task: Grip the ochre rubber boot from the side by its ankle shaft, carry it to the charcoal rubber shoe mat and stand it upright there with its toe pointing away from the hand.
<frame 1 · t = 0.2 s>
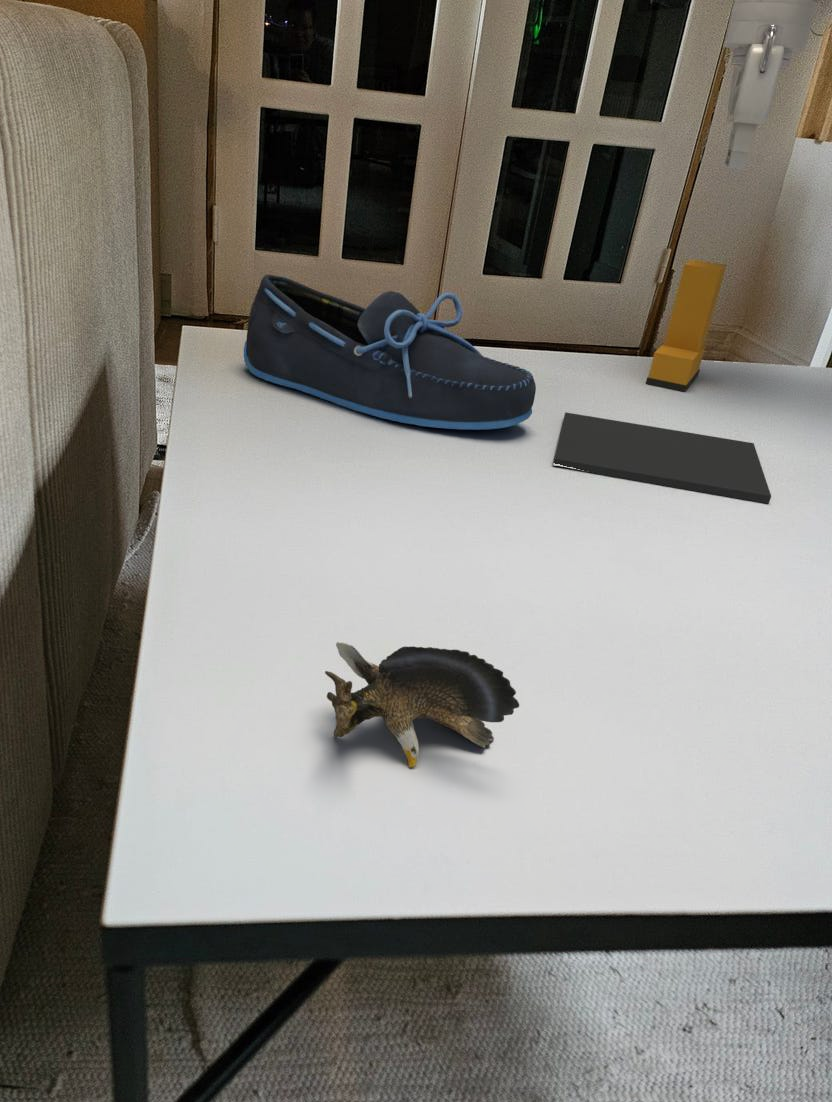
hand: (733, 168, 113), 25 cm above the table, tool pointing down, fingers open, 8 cm apart
moccasin: (379, 401, 104), on the table
shoe mat: (657, 457, 95), on the table
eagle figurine: (408, 745, 51), on the table
boot: (675, 375, 125), on the table
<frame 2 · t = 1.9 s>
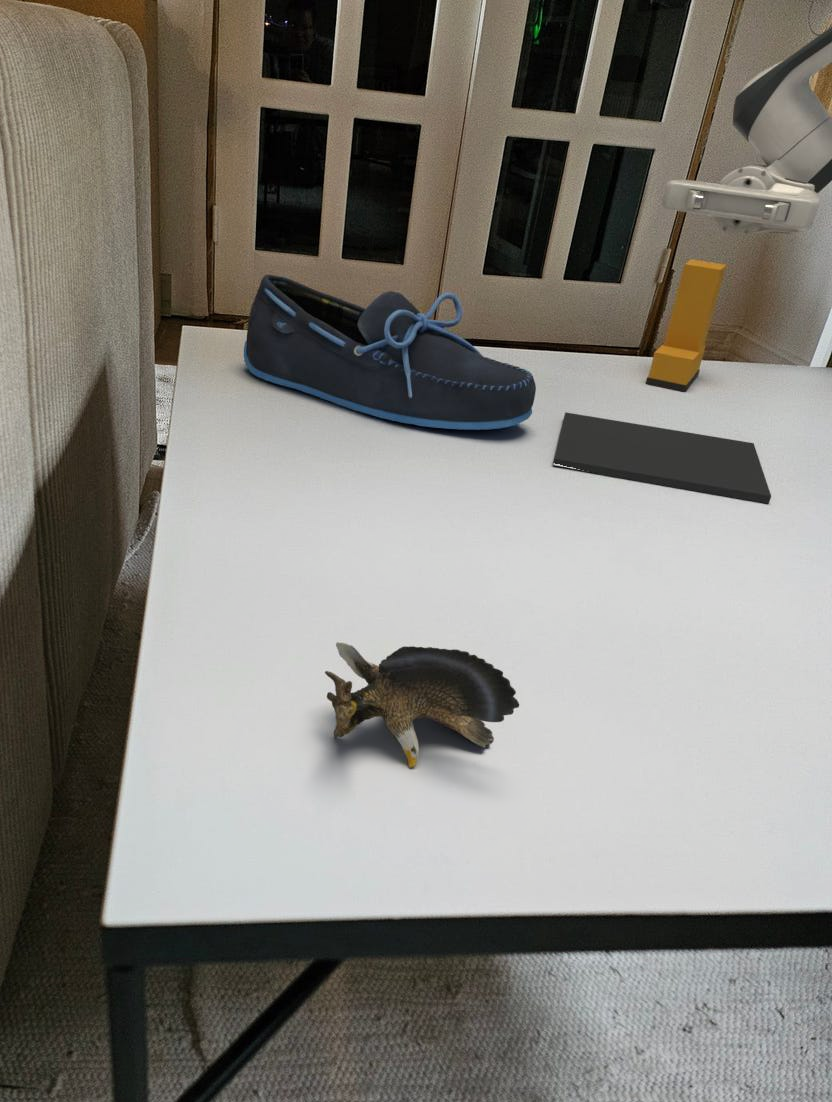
hand: (732, 207, 124), 20 cm above the table, tool horizontal, fingers open, 8 cm apart
nothing on the table moved.
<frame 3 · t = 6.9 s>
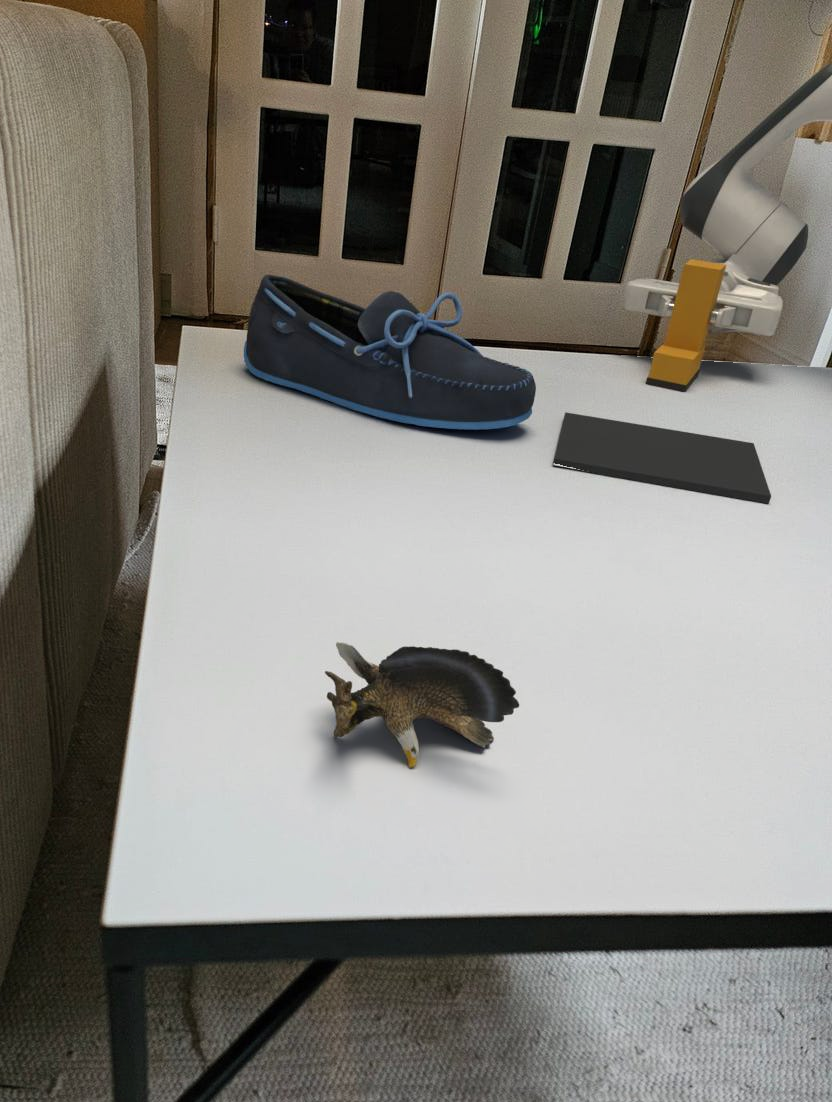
hand: (691, 314, 120), 8 cm above the table, tool horizontal, fingers closed on boot, 4 cm apart
boot: (675, 375, 125), on the table, touching gripper
everything else where it was.
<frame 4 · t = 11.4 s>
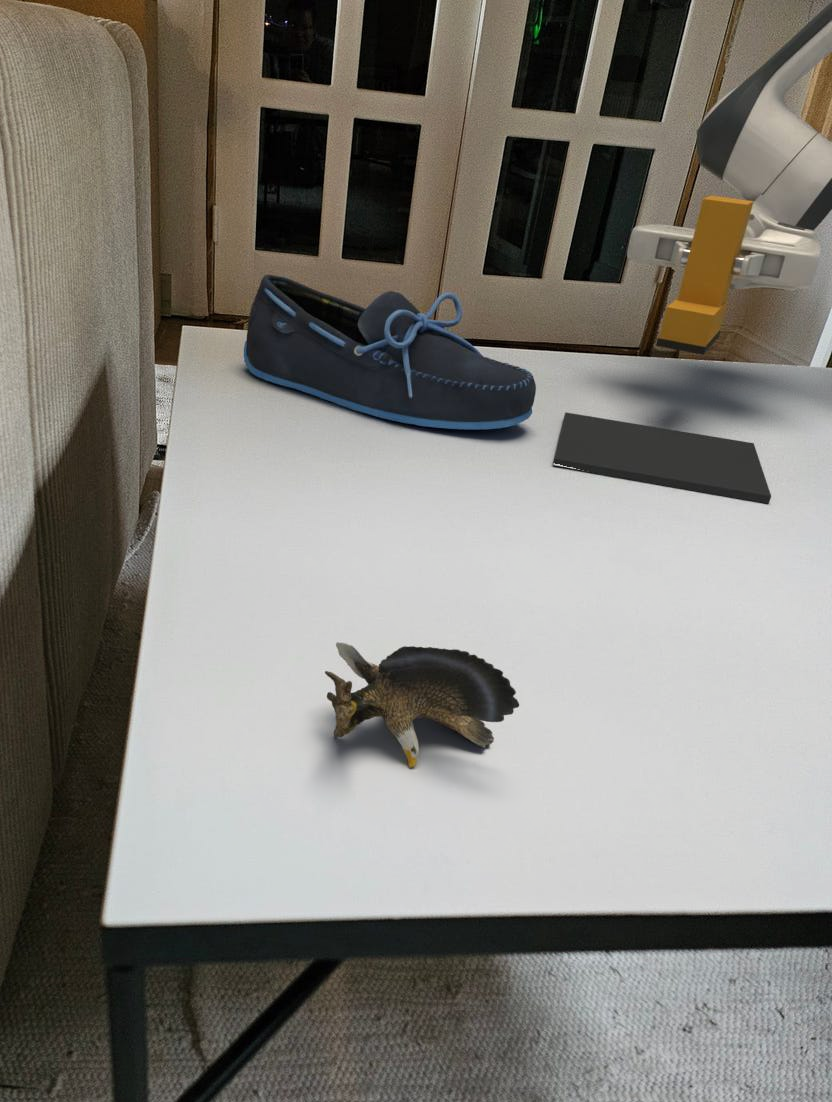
hand: (711, 262, 99), 17 cm above the table, tool horizontal, fingers closed on boot, 4 cm apart
boot: (691, 337, 104), point 9 cm above the table, touching gripper
everything else where it was.
when the fingers open (9 cm above the table, at t = 15.8 s): boot stays where it is, resting on shoe mat.
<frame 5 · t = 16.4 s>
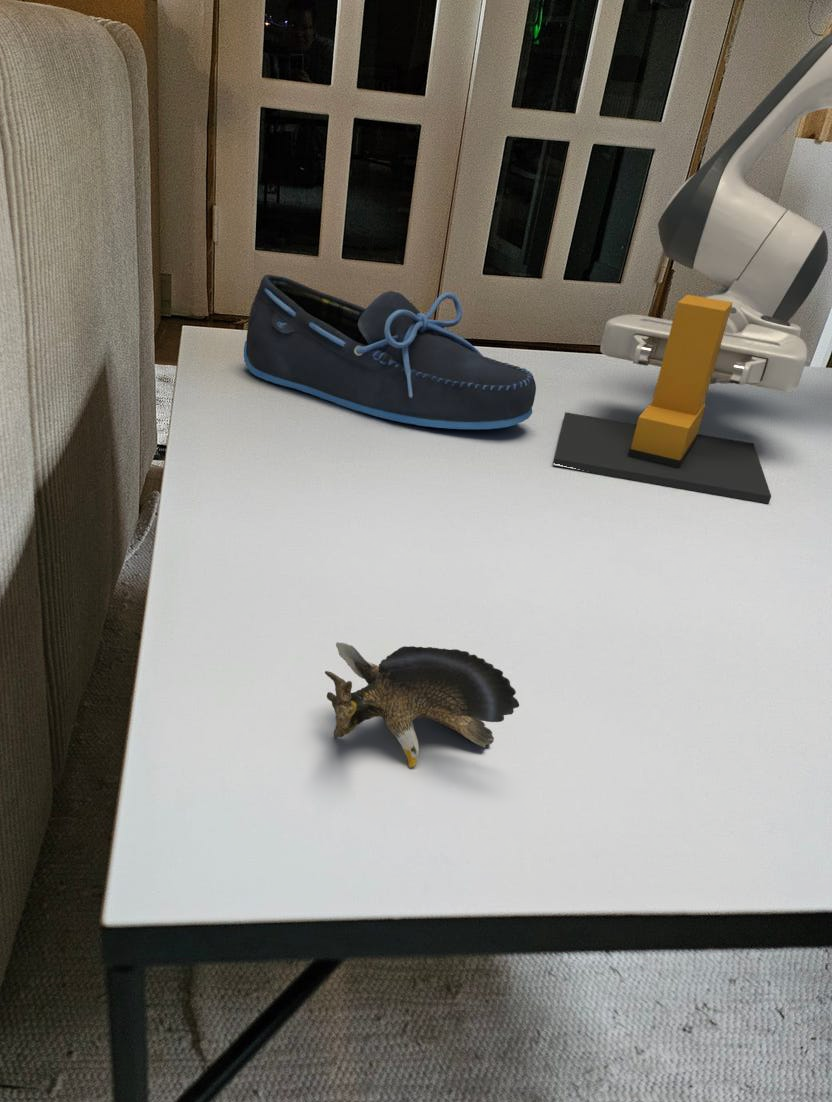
hand: (689, 365, 92), 9 cm above the table, tool horizontal, fingers open, 8 cm apart
boot: (667, 442, 97), point 1 cm above the table, touching shoe mat
everything else where it was.
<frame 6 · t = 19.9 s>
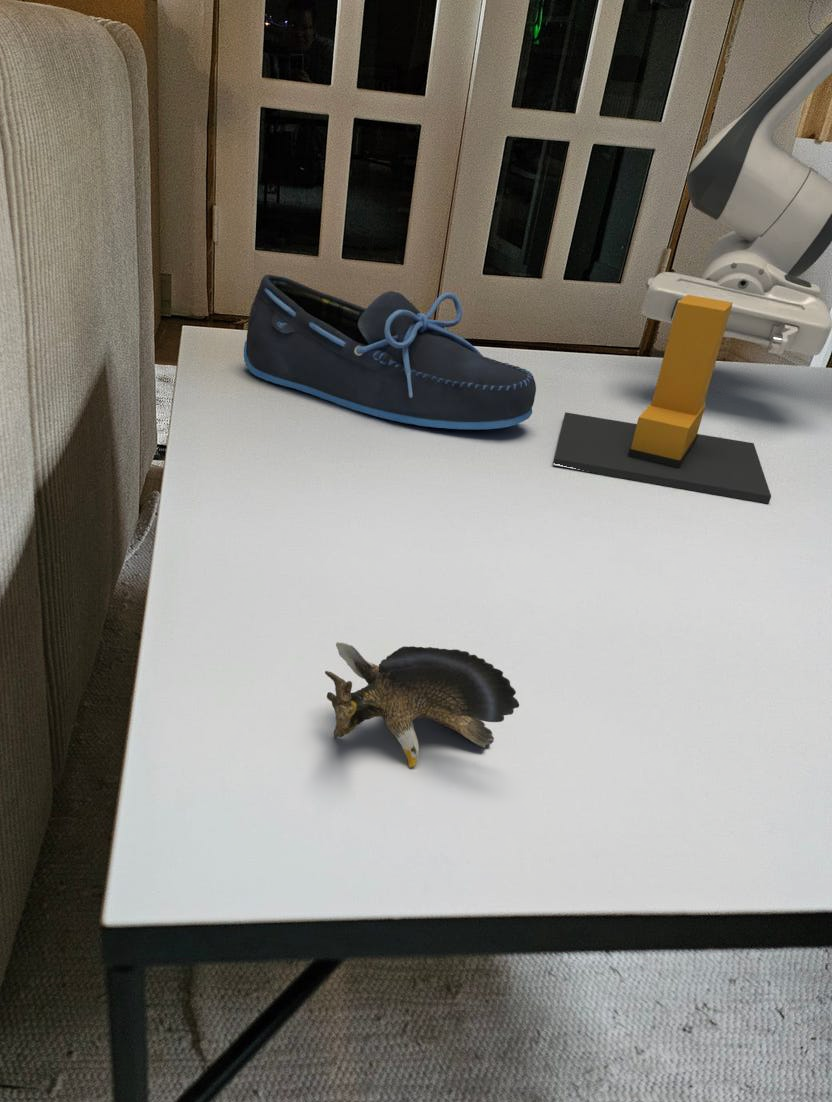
hand: (732, 337, 101), 10 cm above the table, tool horizontal, fingers open, 8 cm apart
nothing on the table moved.
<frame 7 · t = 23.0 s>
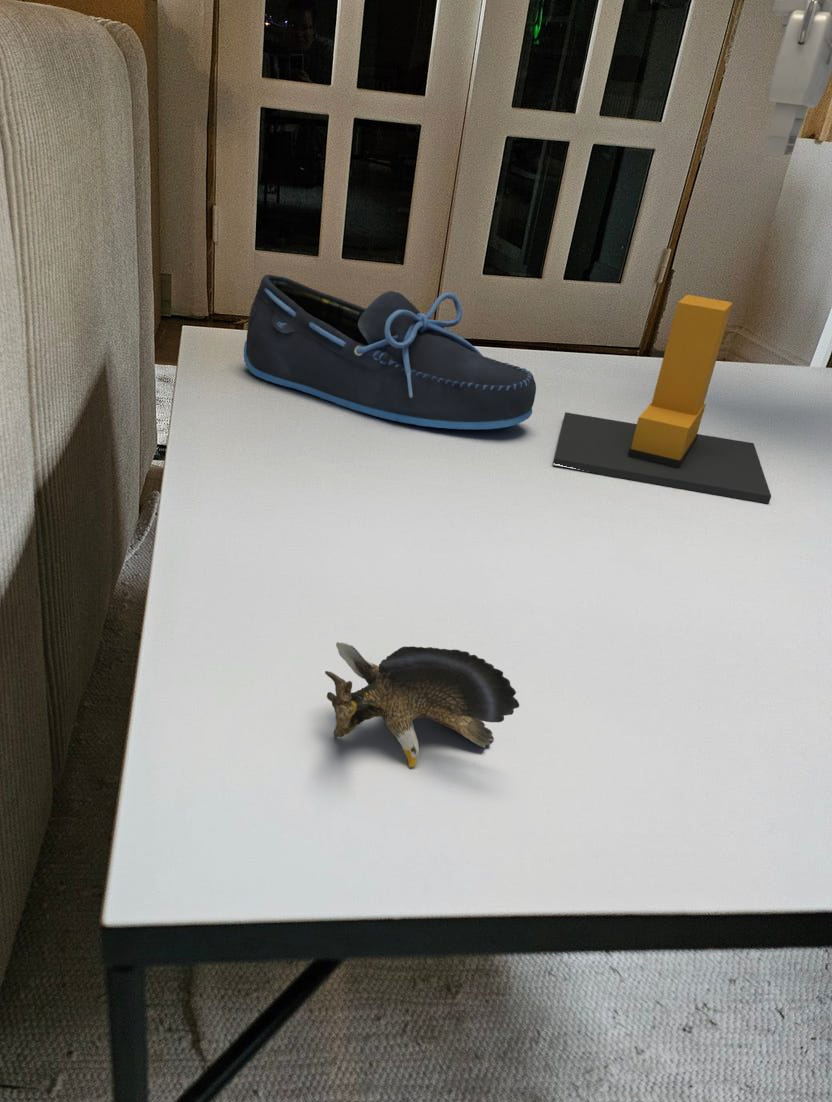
hand: (778, 155, 99), 27 cm above the table, tool pointing down, fingers open, 8 cm apart
nothing on the table moved.
at the end: boot inside the target area on the shoe mat (1.8 cm from its centre), point 0.8 cm above the shoe mat's base; boot tilted 0°; the gripper is holding nothing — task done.
